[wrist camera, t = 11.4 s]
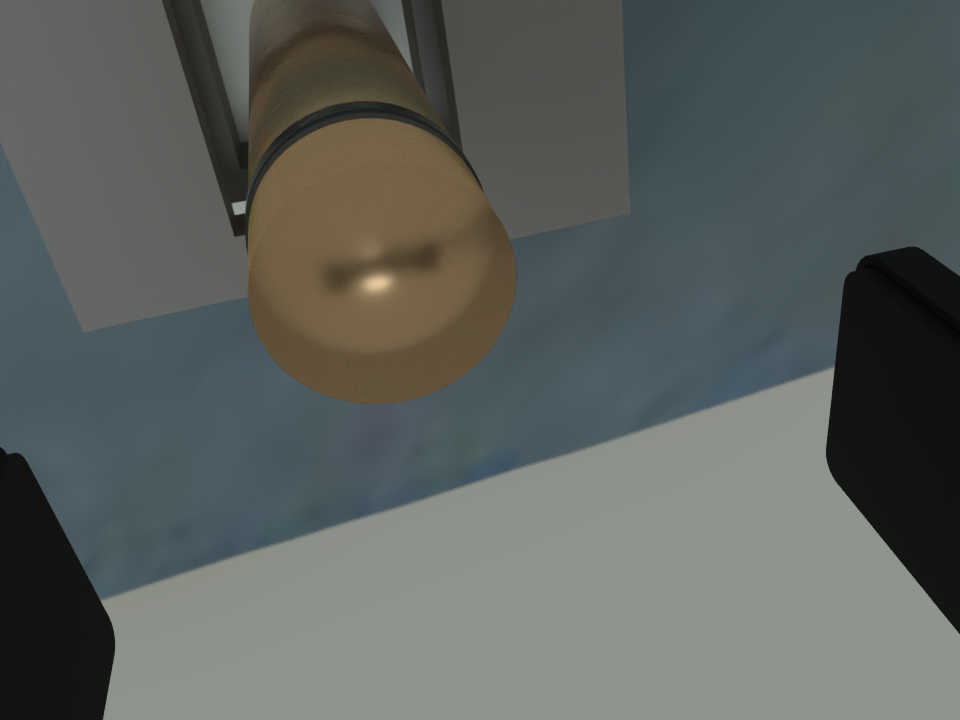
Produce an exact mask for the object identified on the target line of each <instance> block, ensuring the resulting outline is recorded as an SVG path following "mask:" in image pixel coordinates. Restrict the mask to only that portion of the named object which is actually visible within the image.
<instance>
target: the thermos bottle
mask: <svg viewBox="0 0 960 720" xmlns="http://www.w3.org/2000/svg"><path fill="white" fill-rule="evenodd" d="M245 239H246V249H247V253H248V299H249V308H250V312H251V317H252V321H253V324H254V326H255V329H256V331H257V334H258V336H259V338H260V340H261V342H262V343H263V345H264V347H265V349H266V350H267V352H268V353H269V354H270V355H271V357H272V358H273V359H274V360H275V362H276V363H277V364H278V365H279V366H280V367H281V368H282V369H283V370H284V371H285V372H286V373H287V374H289V375H290V376H291V377H293V378H294V379H296V380H297V381H298V382H300V383H301V384H303V385H305V386H307V387H308V388H310V389H312V390H314V391H316V392H318V393H321V394H323V395H326V396H328V397H332V398H335V399H339V400H342V401H347V402H354V403H360V404H389V403H397V402H403V401H409V400H412V399H416V398H419V397H423V396H426V395H428V394H431V393H433V392H436V391H438V390H440V389H442V388H444V387H446V386H448V385H450V384H451V383H453V382H455V381H456V380H458V379H459V378H461V377H462V376H463V375H465V374H466V373H468V372H469V371H470V370H471V369H472V368H473V367H474V366H476V365H477V364H478V363H479V362H480V361H481V360H482V359H483V358H484V357H485V355H486V354H487V353H488V352H489V351H490V350H491V348H492V347H493V345H494V344H495V343H496V341H497V340H498V338H499V337H500V335H501V333H502V331H503V329H504V327H505V325H506V323H507V321H508V318H509V315H510V313H511V310H512V306H513V301H514V297H515V290H516V263H515V258H514V253H513V248H512V246H511V243H510V240H509V237H508V234H507V232H506V230H505V229H504V227H503V225H502V223H501V221H500V219H499V218H498V216H497V214H496V213H495V211H494V209H493V207H492V206H491V204H490V202H489V201H488V199H487V197H486V196H485V194H484V191H483V188H482V185H481V183H480V181H479V179H478V177H477V175H476V173H475V171H474V169H473V168H472V166H471V164H470V163H469V161H468V159H467V158H466V156H465V154H464V153H463V152H462V150H461V149H460V147H459V146H458V145H457V143H456V142H455V141H454V140H453V139H452V138H451V137H450V135H449V133H448V131H447V130H446V128H445V126H444V125H443V123H442V121H441V120H440V118H439V116H438V115H437V113H436V111H435V109H434V108H433V106H432V104H431V103H430V101H429V99H428V98H427V96H426V94H425V93H424V91H423V89H422V88H421V86H420V84H419V82H418V81H417V79H416V77H415V76H414V74H413V72H412V71H411V69H410V67H409V66H408V64H407V62H406V60H405V59H404V57H403V55H402V54H401V52H400V50H399V49H398V47H397V45H396V44H395V42H394V40H393V39H392V37H391V35H390V33H389V32H388V30H387V28H386V27H385V25H384V23H383V22H382V20H381V18H380V17H379V15H378V13H377V12H376V10H375V8H374V6H373V5H372V3H371V1H370V0H255V1H254V4H253V7H252V10H251V15H250V22H249V152H248V192H247V197H246V208H245Z"/></svg>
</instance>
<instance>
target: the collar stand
mask: <svg viewBox="0 0 960 720" xmlns="http://www.w3.org/2000/svg"><path fill="white" fill-rule="evenodd" d="M254 1H255V0H0V143H1V145H2V148H3V150H4V152H5V154H6V157H7V159H8V161H9V164H10V166H11V168H12V170H13V173H14V175H15V177H16V180H17V182H18V184H19V186H20V189H21V191H22V193H23V196H24V198H25V200H26V202H27V205H28V207H29V209H30V212H31V214H32V216H33V218H34V221H35V223H36V225H37V228H38V230H39V232H40V234H41V237H42V239H43V241H44V244H45V246H46V248H47V250H48V253H49V255H50V257H51V260H52V262H53V264H54V266H55V269H56V271H57V273H58V276H59V278H60V280H61V282H62V285H63V287H64V289H65V292H66V294H67V296H68V298H69V301H70V303H71V305H72V308H73V310H74V312H75V314H76V317H77V319H78V321H79V324H80V326H81V328H82V330H83V332H87V331H92V330H96V329H101V328H106V327H110V326H115V325H119V324H124V323H129V322H133V321H138V320H143V319H147V318H152V317H156V316H161V315H166V314H170V313H175V312H180V311H184V310H189V309H193V308H198V307H203V306H207V305H212V304H217V303H221V302H226V301H230V300H235V299H240V298H244V297H248V253H247V249H246V239H245V208H246V197H247V192H248V152H249V22H250V15H251V10H252V7H253V4H254ZM370 1H371V3H372V5H373V6H374V8H375V10H376V12H377V13H378V15H379V17H380V18H381V20H382V22H383V23H384V25H385V27H386V28H387V30H388V32H389V33H390V35H391V37H392V39H393V40H394V42H395V44H396V45H397V47H398V49H399V50H400V52H401V54H402V55H403V57H404V59H405V60H406V62H407V64H408V66H409V67H410V69H411V71H412V72H413V74H414V76H415V77H416V79H417V81H418V82H419V84H420V86H421V88H422V89H423V91H424V93H425V94H426V96H427V98H428V99H429V101H430V103H431V104H432V106H433V108H434V109H435V111H436V113H437V115H438V116H439V118H440V120H441V121H442V123H443V125H444V126H445V128H446V130H447V131H448V133H449V135H450V137H451V138H452V139H453V140H454V141H455V142H456V143H457V145H458V146H459V147H460V149H461V150H462V152H463V153H464V154H465V156H466V158H467V159H468V161H469V163H470V164H471V166H472V168H473V169H474V171H475V173H476V175H477V177H478V179H479V181H480V183H481V185H482V188H483V191H484V194H485V196H486V197H487V199H488V201H489V202H490V204H491V206H492V207H493V209H494V211H495V213H496V214H497V216H498V218H499V219H500V221H501V223H502V225H503V227H504V229H505V230H506V232H507V234H508V237H509V240H512V239H517V238H521V237H526V236H531V235H535V234H540V233H545V232H549V231H554V230H558V229H563V228H568V227H572V226H577V225H582V224H586V223H591V222H595V221H600V220H605V219H609V218H614V217H619V216H623V215H628V214H631V210H630V185H629V159H628V134H627V108H626V83H625V57H624V32H623V6H622V0H370Z"/></svg>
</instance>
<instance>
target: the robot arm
mask: <svg viewBox="0 0 960 720" xmlns="http://www.w3.org/2000/svg"><path fill="white" fill-rule="evenodd" d="M826 458H827V463H828V466H829V469H830V472H831V474H832V476H833V477H834V479H835V481H836V482H837V484H838V485H839V486H840V487H841V488H842V490H843V491H844V492H845V493H846V495H847V496H848V497H849V498H850V500H851V501H852V502H853V503H854V504H855V506H856V507H857V508H858V509H859V511H860V512H861V513H862V514H863V515H864V517H865V518H866V519H867V520H868V522H869V523H870V524H871V525H872V527H873V528H874V529H875V530H876V532H877V533H878V534H879V535H880V537H881V538H882V539H883V540H884V541H885V543H886V544H887V545H888V546H889V548H890V549H891V550H892V551H893V552H894V554H895V555H896V556H897V557H898V559H899V560H900V561H901V562H902V564H903V565H904V566H905V567H906V569H907V570H908V571H909V572H910V573H911V575H912V576H913V577H914V578H915V580H916V581H917V582H918V583H919V585H920V586H921V587H922V588H923V589H924V591H925V592H926V593H927V594H928V596H929V597H930V598H931V599H932V601H933V602H934V603H935V604H936V605H937V607H938V608H939V609H940V610H941V612H942V613H943V614H944V615H945V616H946V618H947V619H948V620H949V621H950V623H951V624H952V625H953V626H954V627H955V629H956V630H957V631H958V633H959V634H960V276H959V275H957V274H956V273H954V272H953V271H952V270H950V269H949V268H947V267H946V266H945V265H943V264H942V263H940V262H939V261H938V260H936V259H935V258H933V257H932V256H930V255H929V254H928V253H926V252H925V251H923V250H922V249H920V248H918V247H905V248H901V249H896V250H891V251H887V252H882V253H878V254H873V255H868V256H865V257H864V258H862V259H861V260H860V262H859V263H858V265H857V268H856V271H853V272H851V273H849V274H848V275H847V277H846V279H845V282H844V288H843V297H842V306H841V316H840V325H839V334H838V343H837V353H836V362H835V371H834V381H833V390H832V399H831V408H830V418H829V427H828V436H827V445H826ZM114 654H115V637H114V631H113V627H112V623H111V621H110V618H109V616H108V614H107V612H106V611H105V609H104V607H103V605H102V603H101V601H100V599H99V597H98V595H97V593H96V592H95V590H94V588H93V586H92V584H91V582H90V580H89V578H88V576H87V575H86V573H85V571H84V569H83V567H82V565H81V563H80V561H79V559H78V557H77V556H76V554H75V552H74V550H73V548H72V546H71V544H70V542H69V540H68V539H67V537H66V535H65V533H64V531H63V529H62V527H61V525H60V523H59V521H58V520H57V518H56V516H55V514H54V512H53V510H52V508H51V506H50V504H49V503H48V501H47V499H46V497H45V495H44V493H43V491H42V489H41V487H40V485H39V484H38V482H37V480H36V478H35V476H34V474H33V472H32V470H31V468H30V467H29V465H28V463H27V461H26V460H25V458H24V457H23V456H22V455H20V454H19V453H12V454H6V452H5V451H4V450H3V449H2V448H1V447H0V720H103V715H104V710H105V704H106V699H107V693H108V687H109V682H110V676H111V671H112V665H113V659H114Z"/></svg>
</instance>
